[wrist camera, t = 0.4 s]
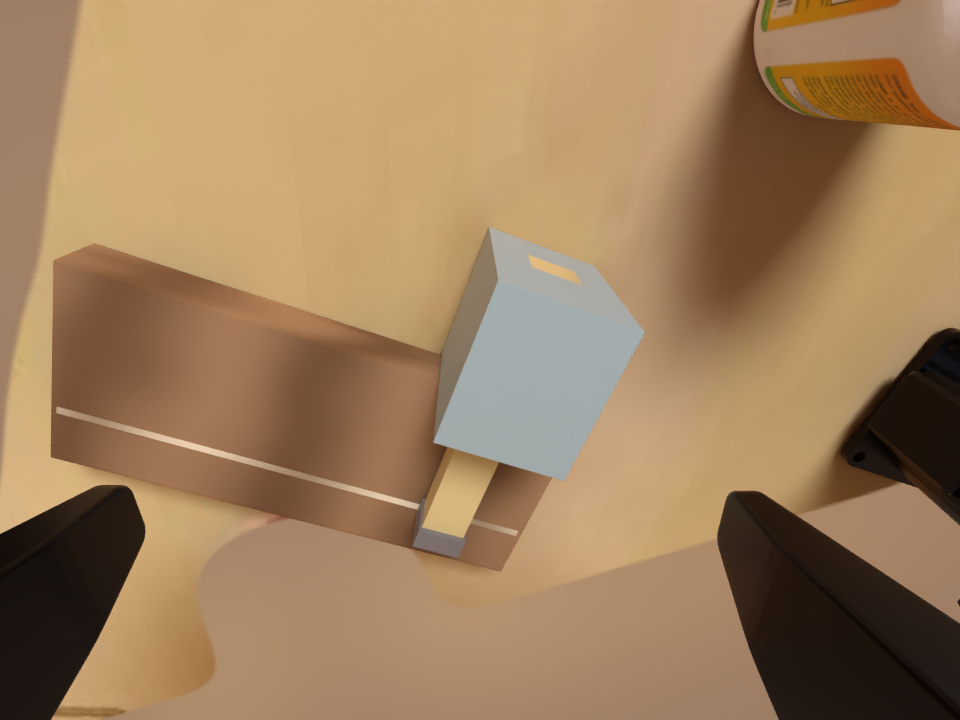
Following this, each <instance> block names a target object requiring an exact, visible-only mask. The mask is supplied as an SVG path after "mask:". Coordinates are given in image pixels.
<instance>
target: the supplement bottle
mask: <svg viewBox="0 0 960 720" xmlns="http://www.w3.org/2000/svg"><path fill="white" fill-rule="evenodd" d="M754 52H755V59H756V63H757V66H758V70H759V73H760V75H761V77H762V80H763V81H764V83H765V85H766V86H767V88H768V89H769V91H770V92H771V93H772V95H773V96H774V97H775V98H776V99H777V100H778V101H779V102H781V103H782V104H783V105H784V106H786V107H787V108H789V109H791V110H793V111H795V112H797V113H800V114H803V115H807V116H812V117H818V118H825V119H838V120H851V121H862V122H872V123H885V124H896V125H907V126H918V127H929V128H940V129H950V130H960V0H760V2H759V5H758V9H757V13H756V18H755V24H754Z"/></svg>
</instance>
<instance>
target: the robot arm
mask: <svg viewBox="0 0 960 720" xmlns="http://www.w3.org/2000/svg"><path fill="white" fill-rule="evenodd" d="M952 340H953V341H952ZM950 341H952V342H951V343H950V344H949V342H950ZM948 344H949V345H948ZM856 453H857V454H856ZM855 454H856V455H855ZM841 456H842V458H843V459H844V460H845V461H846V462H847V463H848V464H849V465H851V466H853V467H856V468H860V469H863V470H866V471H869V472H872V473H875V474H878V475H881V476H884V477H887V478H890V479H893V480H896V481H899V482H902V483H905V484H908V485H911V486H914V487H917V488H919V489H920V490H921V491H922V492H923V493H924V494H925V495H927V496H928V497H929V498H930V499H931V500H932V501H933V502H934V503H936V504H937V505H938V506H939V507H940V508H941V509H942V510H943V511H944V512H945V513H947V514H948V515H949V516H950V517H951V518H952V519H953V520H955V522H957V523H958V524H959V525H960V330H959V329H956V328H948V329H945V330H943V331H941V332H940V333H939V334H938V335H936V337H935V338H934V339H933V340H932V341H931V343H930V344H929V345H928V346H927V347H926V349H925V350H924V351H923V352H922V353H921V355H920V356H919V357H918V358H917V360H916V361H915V362H914V363H913V364H912V366H911V367H910V368H909V369H908V370H907V372H906V373H905V374H904V375H903V376H902V378H901V379H900V380H899V381H898V382H897V384H896V385H895V386H894V387H893V389H892V390H891V391H890V392H889V393H888V395H887V396H886V397H885V398H884V399H883V401H882V402H881V403H880V404H879V405H878V407H877V408H876V409H875V410H874V411H873V413H872V414H871V415H870V416H869V418H868V419H867V420H866V421H865V422H864V424H863V425H862V426H861V427H860V428H859V430H858V431H857V432H856V433H855V434H854V436H853V437H852V438H851V439H850V440H849V442H848V443H847V444H846V445H845V447H844V448H843V449H842V451H841ZM144 538H145V524H144V521H143V519H142V516H141V513H140V511H139V508H138V505H137V503H136V500H135V497H134V495H133V492H132V491H131V490H130V489H129V488H128V487H127V486H124V485H99V486H95V487H93V488H91V489H89V490H87V491H85V492H83V493H81V494H79V495H77V496H75V497H73V498H71V499H69V500H67V501H65V502H63V503H61V504H59V505H57V506H55V507H53V508H51V509H49V510H47V511H45V512H43V513H41V514H39V515H37V516H35V517H33V518H31V519H29V520H27V521H25V522H23V523H21V524H19V525H17V526H15V527H13V528H11V529H9V530H7V531H5V532H3V533H1V534H0V720H51V719H52V717H53V715H54V714H55V712H56V710H57V709H58V707H59V705H60V703H61V702H62V700H63V698H64V697H65V695H66V693H67V691H68V690H69V688H70V686H71V685H72V683H73V681H74V680H75V678H76V676H77V674H78V673H79V671H80V669H81V668H82V666H83V664H84V662H85V661H86V659H87V657H88V656H89V654H90V652H91V650H92V648H93V647H94V645H95V643H96V641H97V639H98V637H99V635H100V633H101V631H102V629H103V627H104V625H105V623H106V621H107V619H108V617H109V615H110V613H111V611H112V608H113V606H114V604H115V602H116V600H117V598H118V596H119V593H120V591H121V589H122V587H123V585H124V583H125V581H126V578H127V576H128V574H129V572H130V570H131V568H132V566H133V563H134V561H135V559H136V557H137V555H138V553H139V551H140V548H141V546H142V544H143V541H144ZM717 540H718V547H719V551H720V554H721V558H722V561H723V564H724V567H725V571H726V574H727V578H728V581H729V584H730V588H731V591H732V594H733V598H734V600H735V604H736V607H737V611H738V614H739V617H740V621H741V624H742V627H743V631H744V634H745V636H746V640H747V643H748V646H749V649H750V651H751V654H752V656H753V659H754V662H755V664H756V667H757V669H758V672H759V674H760V676H761V679H762V681H763V683H764V685H765V688H766V691H767V693H768V695H769V698H770V700H771V703H772V705H773V707H774V710H775V711H776V714H777V717H778V719H779V720H960V623H958V622H957V621H955V620H954V619H952V618H951V617H949V616H948V615H946V614H945V613H943V612H942V611H940V610H939V609H937V608H935V607H934V606H932V605H931V604H930V603H928V602H926V601H925V600H923V599H922V598H920V597H919V596H917V595H916V594H914V593H913V592H911V591H910V590H908V589H907V588H905V587H904V586H902V585H901V584H899V583H898V582H896V581H895V580H893V579H892V578H890V577H889V576H887V575H886V574H884V573H883V572H881V571H880V570H878V569H877V568H875V567H874V566H872V565H870V564H869V563H867V562H866V561H864V560H863V559H861V558H860V557H858V556H857V555H855V554H854V553H852V552H851V551H849V550H848V549H846V548H845V547H843V546H842V545H840V544H839V543H837V542H836V541H834V540H833V539H831V538H830V537H828V536H827V535H825V534H824V533H822V532H821V531H819V530H817V529H816V528H814V527H813V526H812V525H810V524H809V523H807V522H805V521H804V520H802V519H801V518H799V517H798V516H796V515H795V514H793V513H792V512H790V511H789V510H787V509H786V508H784V507H783V506H781V505H780V504H778V503H777V502H775V501H774V500H772V499H771V498H769V497H768V496H766V495H765V494H763V493H761V492H758V491H733V492H731V493H729V495H728V496H727V499H726V502H725V506H724V510H723V513H722V517H721V521H720V525H719V529H718V535H717ZM958 604H959V606H960V599H959V600H958Z"/></svg>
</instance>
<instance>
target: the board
mask: <svg viewBox="0 0 960 720" xmlns="http://www.w3.org/2000/svg"><path fill="white" fill-rule="evenodd" d="M441 358H442V355H439V354H436V353H433V352H429V351H426V350H423V349H420V348H417V347H414V346H411V345H408V344H405V343H402V342H398V341H395V340H392V339H389V338H386V337H383V336H380V335H377V334H374V333H370V332H367V331H364V330H361V329H358V328H355V327H352V326H349V325H346V324H343V323H339V322H336V321H333V320H330V319H327V318H324V317H321V316H318V315H315V314H311V313H308V312H305V311H302V310H299V309H296V308H293V307H290V306H287V305H283V304H280V303H277V302H274V301H271V300H268V299H265V298H262V297H259V296H256V295H252V294H249V293H246V292H243V291H240V290H237V289H234V288H231V287H228V286H224V285H221V284H218V283H215V282H212V281H209V280H206V279H203V278H200V277H196V276H193V275H190V274H187V273H184V272H181V271H178V270H175V269H172V268H169V267H165V266H162V265H159V264H156V263H153V262H150V261H147V260H144V259H141V258H137V257H134V256H131V255H128V254H125V253H122V252H119V251H116V250H113V249H109V248H106V247H103V246H100V245H97V244H92V245H89V246H87V247H85V248H82V249H80V250H77V251H75V252H73V253H70V254H68V255H65V256H63V257H61V258H58V259H56V260H54V263H53V335H52V408H51V457H52V458H56V459H60V460H64V461H68V462H72V463H76V464H80V465H84V466H88V467H91V468H95V469H99V470H103V471H107V472H111V473H115V474H119V475H123V476H127V477H131V478H135V479H139V480H143V481H147V482H150V483H154V484H158V485H162V486H166V487H170V488H174V489H178V490H182V491H186V492H190V493H194V494H198V495H202V496H206V497H209V498H213V499H217V500H221V501H225V502H229V503H233V504H237V505H241V506H245V507H249V508H253V509H257V510H261V511H265V512H269V513H272V514H276V515H280V516H284V517H288V518H292V519H296V520H300V521H304V522H308V523H312V524H316V525H320V526H324V527H328V528H332V529H335V530H339V531H343V532H347V533H351V534H355V535H359V536H363V537H367V538H371V539H375V540H379V541H383V542H387V543H391V544H395V545H399V546H402V547H406V548H410V549H414V550H418V551H422V552H426V553H430V554H434V555H438V556H442V557H446V558H449V559H453V560H457V561H461V562H465V563H469V564H473V565H477V566H481V567H485V568H489V569H493V570H497V571H501V570H502V568H503V567H504V565H505V563H506V561H507V559H508V557H509V556H510V554H511V552H512V550H513V548H514V546H515V545H516V543H517V541H518V539H519V537H520V535H521V534H522V532H523V530H524V528H525V526H526V524H527V523H528V521H529V519H530V517H531V515H532V513H533V512H534V510H535V508H536V506H537V504H538V502H539V501H540V499H541V497H542V495H543V493H544V491H545V490H546V488H547V486H548V484H549V482H550V480H551V479H552V477H549V476H545V475H542V474H539V473H535V472H532V471H528V470H525V469H522V468H518V467H515V466H511V465H508V464H504V463H501V462H499V464H498V466H497V468H496V470H495V472H494V474H493V476H492V478H491V480H490V483H489V485H488V487H487V489H486V491H485V493H484V495H483V497H482V500H481V502H480V504H479V506H478V508H477V510H476V512H475V514H474V516H473V519H472V521H471V523H470V525H469V527H468V529H467V531H466V543H465V545H464V548H463V550H462V552H461V554H460V556H459V558H456V557H452V556H448V555H445V554H441V553H437V552H433V551H429V550H425V549H421V548H417V547H413V546H412V545H413V537H414V529H415V520H416V512H417V510H418V507H419V505H420V503H421V500H422V498H426V497H427V495H428V492H429V490H430V488H431V485H432V483H433V480H434V478H435V476H436V473H437V471H438V468H439V466H440V464H441V461H442V459H443V456H444V454H445V452H446V449H447V447H446V446H443V445H440V444H436V443H433V440H434V430H435V420H436V409H437V399H438V389H439V378H440V368H441Z"/></svg>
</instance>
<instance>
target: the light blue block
mask: <svg viewBox="0 0 960 720" xmlns="http://www.w3.org/2000/svg"><path fill="white" fill-rule="evenodd" d="M644 333H645V332H644V330H643V329H642V328H641V326H640V325H639V324H638V322H637V321H636V320H635V318H634V317H633V316H632V315H631V313H630V312H629V311H628V309H627V308H626V307H625V305H624V304H623V303H622V302H621V300H620V299H619V298H618V296H617V295H616V294H615V292H614V291H613V290H612V288H611V287H610V286H609V285H608V283H607V282H606V281H605V279H604V278H603V277H602V275H601V274H600V273H599V271H598V270H597V269H596V268H595V266H593V265H590V264H587V263H585V262H582V261H579V260H577V259H574V258H571V257H569V256H566V255H563V254H560V253H558V252H555V251H552V250H550V249H547V248H544V247H542V246H539V245H536V244H534V243H531V242H528V241H526V240H523V239H520V238H517V237H515V236H512V235H509V234H507V233H504V232H501V231H499V230H496V229H493V228H491V227H489V228H488V231H487V234H486V236H485V239H484V242H483V244H482V247H481V250H480V252H479V255H478V258H477V260H476V263H475V266H474V268H473V271H472V274H471V276H470V279H469V282H468V284H467V287H466V290H465V292H464V295H463V297H462V300H461V303H460V305H459V308H458V311H457V313H456V316H455V319H454V321H453V324H452V327H451V329H450V332H449V335H448V337H447V340H446V343H445V345H444V348H443V351H442V358H441V368H440V378H439V389H438V399H437V409H436V420H435V430H434V440H433V443H436V444H440V445H443V446H446V447H447V449H446V452H445V454H444V456H443V459H442V461H441V464H440V466H439V468H438V471H437V473H436V476H435V478H434V480H433V483H432V485H431V488H430V490H429V492H428V495H427V497H426V498H422V500H421V503H420V505H419V507H418V510H417V512H416V520H415V529H414V537H413V545H412V546H413V547H417V548H421V549H425V550H429V551H433V552H437V553H441V554H445V555H448V556H452V557H456V558H459V556H460V554H461V552H462V550H463V548H464V545H465V543H466V531H467V529H468V527H469V525H470V523H471V521H472V519H473V516H474V514H475V512H476V510H477V508H478V506H479V504H480V502H481V500H482V497H483V495H484V493H485V491H486V489H487V487H488V485H489V483H490V480H491V478H492V476H493V474H494V472H495V470H496V468H497V466H498V464H499V462H501V463H504V464H508V465H511V466H515V467H518V468H522V469H525V470H528V471H532V472H535V473H539V474H542V475H545V476H549V477H552V478H556V479H559V480H563V481H564V480H565V478H566V476H567V474H568V472H569V471H570V469H571V467H572V465H573V463H574V461H575V460H576V458H577V456H578V454H579V452H580V450H581V449H582V447H583V445H584V443H585V441H586V439H587V438H588V436H589V434H590V432H591V430H592V428H593V427H594V425H595V423H596V421H597V419H598V417H599V416H600V414H601V412H602V410H603V408H604V406H605V405H606V403H607V401H608V399H609V397H610V395H611V394H612V392H613V390H614V388H615V386H616V384H617V383H618V381H619V379H620V377H621V375H622V373H623V372H624V370H625V368H626V366H627V364H628V362H629V361H630V359H631V357H632V355H633V353H634V351H635V350H636V348H637V346H638V344H639V342H640V340H641V339H642V337H643V335H644Z"/></svg>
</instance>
